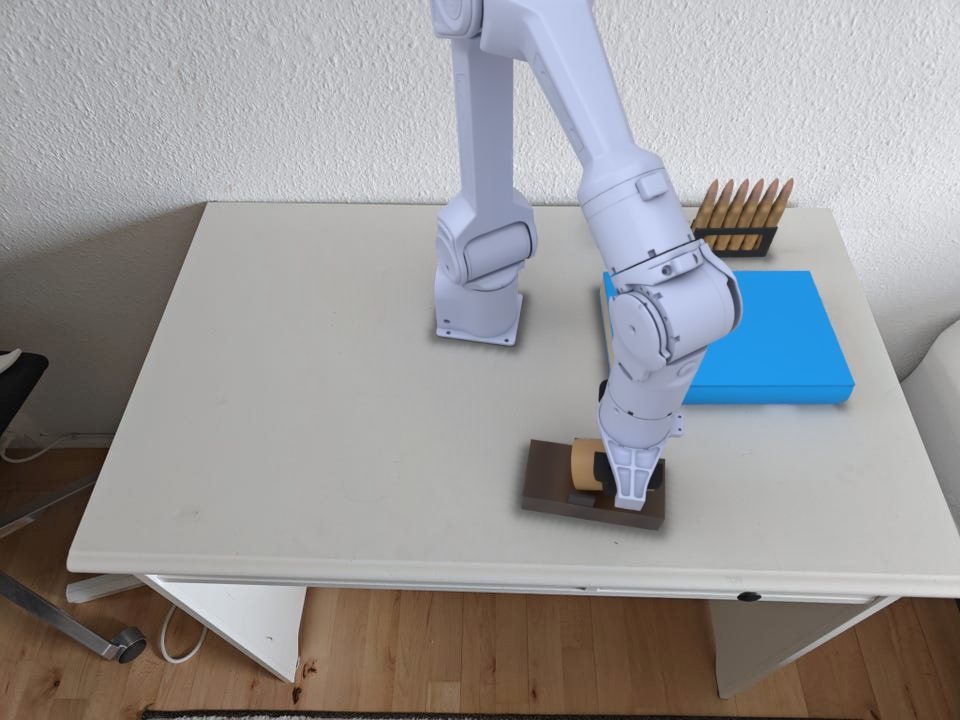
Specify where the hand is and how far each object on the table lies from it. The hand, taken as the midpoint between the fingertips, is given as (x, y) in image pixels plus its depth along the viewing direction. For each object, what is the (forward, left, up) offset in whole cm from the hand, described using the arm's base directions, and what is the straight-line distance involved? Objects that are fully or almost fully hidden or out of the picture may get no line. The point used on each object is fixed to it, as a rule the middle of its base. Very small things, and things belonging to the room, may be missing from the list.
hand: (616, 466), depth 59 cm
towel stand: (-2, 0, -6) cm, 6 cm away
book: (+11, +21, -6) cm, 24 cm away
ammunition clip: (+13, +37, -6) cm, 39 cm away
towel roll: (0, 0, -2) cm, 2 cm away
